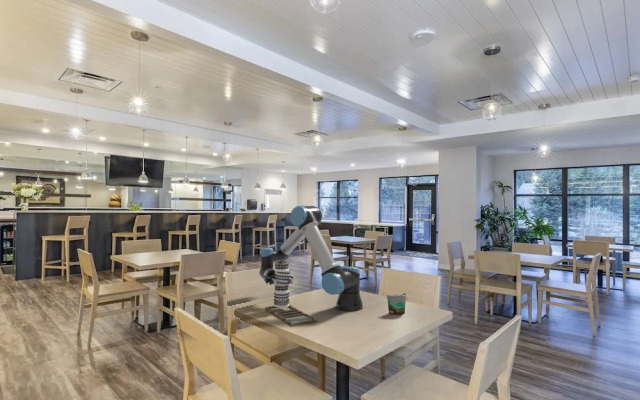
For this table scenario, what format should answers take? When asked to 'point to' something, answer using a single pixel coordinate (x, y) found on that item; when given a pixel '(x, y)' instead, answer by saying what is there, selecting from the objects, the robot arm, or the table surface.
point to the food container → (397, 304)
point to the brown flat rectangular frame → (292, 316)
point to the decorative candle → (281, 283)
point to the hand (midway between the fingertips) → (284, 282)
